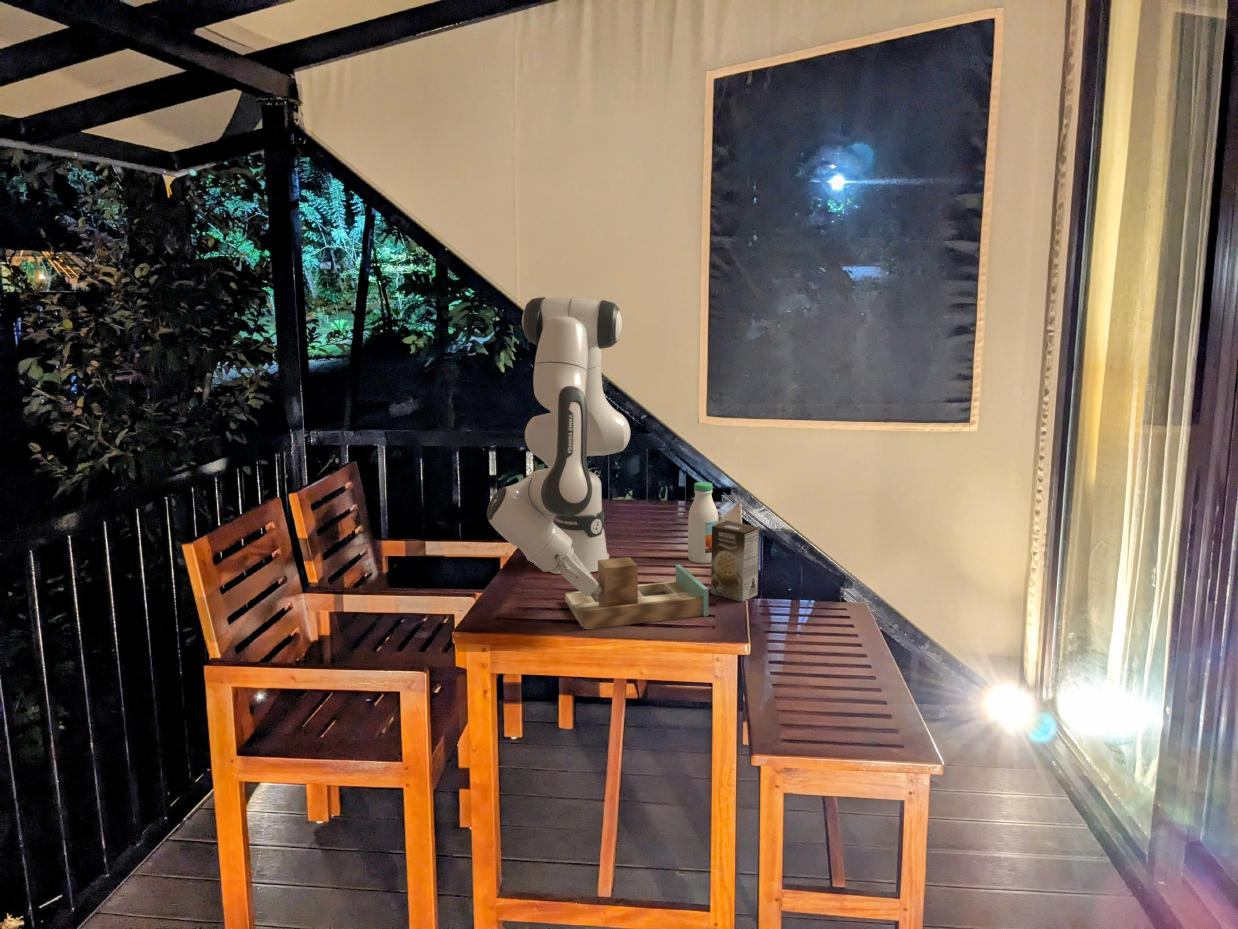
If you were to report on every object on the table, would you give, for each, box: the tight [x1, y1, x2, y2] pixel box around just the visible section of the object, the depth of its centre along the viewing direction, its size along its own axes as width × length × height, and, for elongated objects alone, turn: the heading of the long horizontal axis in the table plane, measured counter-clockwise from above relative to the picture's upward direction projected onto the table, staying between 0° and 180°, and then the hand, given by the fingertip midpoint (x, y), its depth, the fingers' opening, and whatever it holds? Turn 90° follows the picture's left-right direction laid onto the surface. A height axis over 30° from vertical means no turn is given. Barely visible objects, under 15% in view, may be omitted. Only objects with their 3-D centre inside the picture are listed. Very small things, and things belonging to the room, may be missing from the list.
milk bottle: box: [687, 481, 719, 564], centre depth 229 cm, size 8×8×20 cm
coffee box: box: [710, 520, 760, 602], centre depth 204 cm, size 9×6×16 cm
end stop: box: [675, 564, 709, 617], centre depth 200 cm, size 1×18×6 cm, turn 16°
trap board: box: [564, 580, 704, 630], centre depth 197 cm, size 26×18×4 cm
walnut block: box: [597, 556, 639, 607], centre depth 191 cm, size 7×6×10 cm
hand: (598, 590), depth 190 cm, fingers closed, pressing on walnut block
